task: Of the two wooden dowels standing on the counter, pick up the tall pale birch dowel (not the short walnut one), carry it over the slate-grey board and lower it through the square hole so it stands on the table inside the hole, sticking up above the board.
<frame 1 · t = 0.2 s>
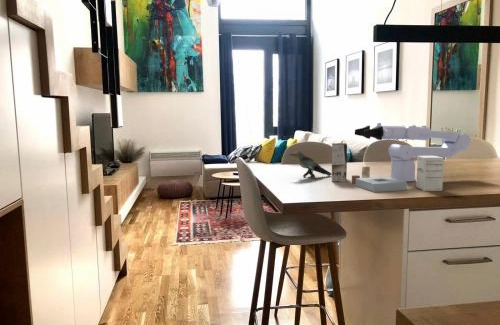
hand: (359, 132, 174), 21 cm above the table, tool horizontal, fingers open, 7 cm apart
bird figurine: (310, 177, 193), on the table
short dowel: (355, 184, 173), on the table
coffee box: (338, 180, 184), on the table
supplement box: (429, 189, 161), on the table
hole board: (380, 187, 164), on the table
long dowel: (365, 181, 179), on the table
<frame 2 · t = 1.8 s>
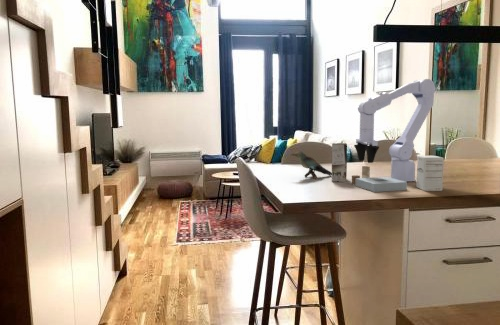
hand: (365, 161, 178), 9 cm above the table, tool pointing down, fingers open, 7 cm apart
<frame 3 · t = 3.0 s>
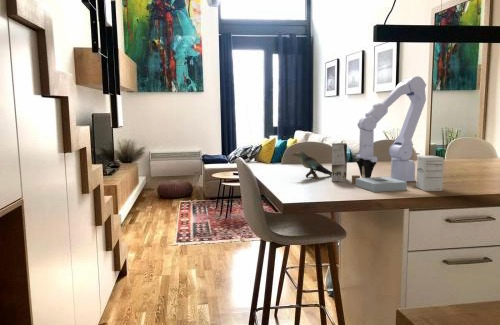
hand: (365, 177, 179), 2 cm above the table, tool pointing down, fingers closed on long dowel, 3 cm apart
long dowel: (365, 181, 179), on the table, touching gripper
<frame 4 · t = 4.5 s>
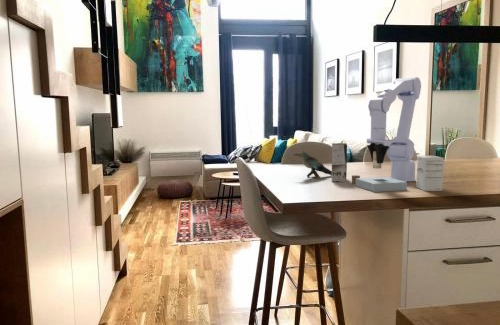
hand: (377, 162, 166), 9 cm above the table, tool pointing down, fingers closed on long dowel, 3 cm apart
long dowel: (377, 167, 166), point 7 cm above the table, touching gripper
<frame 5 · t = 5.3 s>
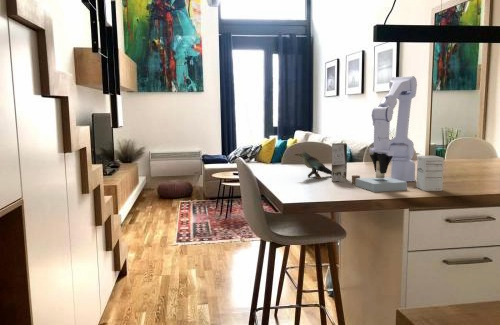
hand: (380, 172, 164), 6 cm above the table, tool pointing down, fingers closed on long dowel, 3 cm apart
long dowel: (380, 177, 164), point 4 cm above the table, touching gripper
when the fingers open (4 cm above the table, at t = 6.0 s): long dowel drops 2 cm, resting in hole board.
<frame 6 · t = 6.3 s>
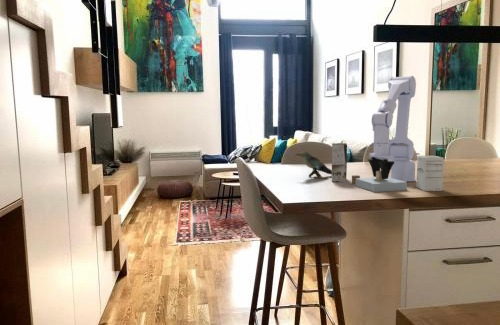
hand: (380, 177, 164), 4 cm above the table, tool pointing down, fingers open, 6 cm apart
long dowel: (379, 187, 164), resting in hole board
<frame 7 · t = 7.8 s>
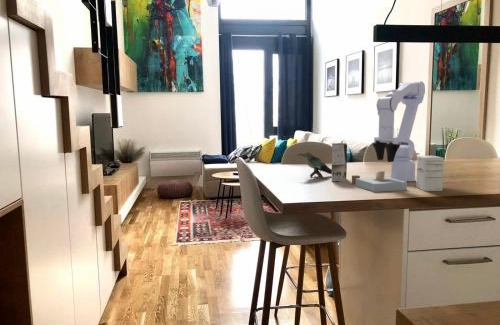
hand: (385, 160, 169), 10 cm above the table, tool pointing down, fingers open, 7 cm apart
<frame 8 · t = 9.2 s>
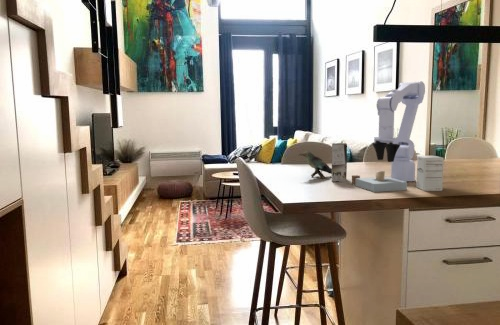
hand: (385, 160, 169), 10 cm above the table, tool pointing down, fingers open, 7 cm apart
at the end: long dowel 0.1 cm off-centre on the hole board, point 0.0 cm above the hole board's base; long dowel tilted 0°; short dowel moved 0.1 cm from its start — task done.
